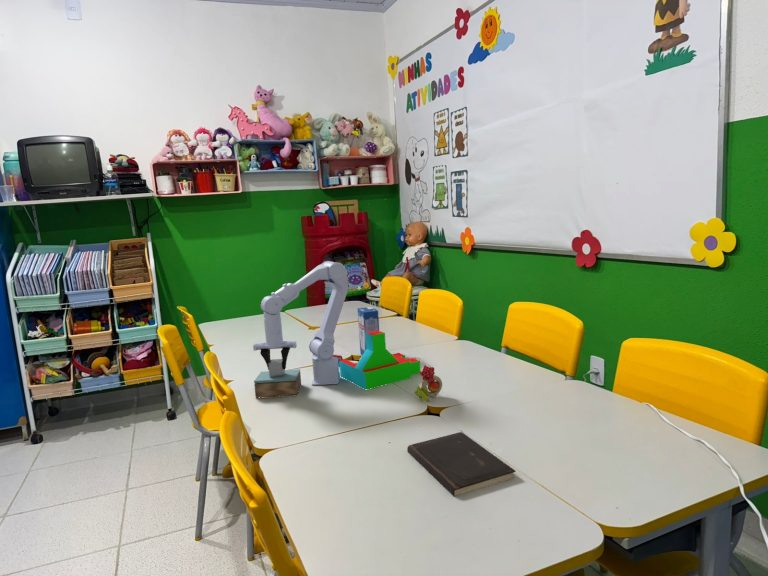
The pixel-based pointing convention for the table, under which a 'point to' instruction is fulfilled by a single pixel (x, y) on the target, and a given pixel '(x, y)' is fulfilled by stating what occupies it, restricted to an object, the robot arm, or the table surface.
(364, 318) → the milk carton
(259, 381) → the lid
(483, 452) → the hardcover book
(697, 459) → the table surface
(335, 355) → the race car
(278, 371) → the metal weight
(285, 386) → the toy box
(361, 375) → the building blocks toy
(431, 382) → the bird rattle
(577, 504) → the table surface
